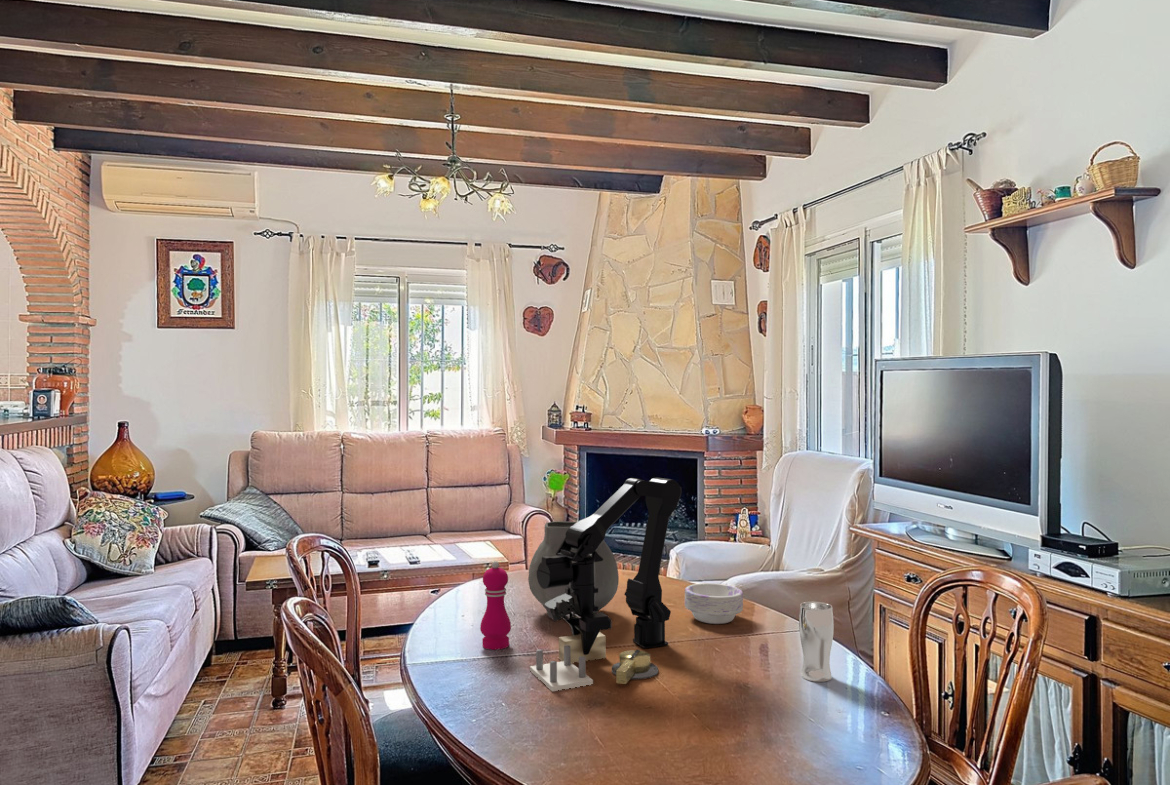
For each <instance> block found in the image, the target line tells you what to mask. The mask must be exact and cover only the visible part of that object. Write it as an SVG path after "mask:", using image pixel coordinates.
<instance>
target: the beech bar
mask: <svg viewBox="0 0 1170 785" xmlns="http://www.w3.org/2000/svg"><path fill="white" fill-rule="evenodd" d="M606 637H607V636H606V635H605V634H603V633H602V632H601V631H600V632H599V633H598V635H597V637H596V639H595V641H594V643H593V645H592V648H591V650H590V652H589V654H587V655H584V654H583V649H582V641H581V634H579V635H573V634H572V635H567V636H566V635H565V636H559V637H558V660H559V659H560V660H561V661H564V646H565V645H569V646H570V649H571V663H572V664H574V663H573V662H577V663H579V657H581V656H583V657H586V662H589V661H588V660H590V661H596V660H603V659H606V658H607V656H606V655H607V654H606V652H607V650H606V645H607V643H606V640H607V639H606ZM602 658H603V659H602ZM595 659H596V660H595ZM560 660H559V661H560ZM561 661H560V662H561Z"/></svg>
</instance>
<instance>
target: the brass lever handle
mask: <svg viewBox="0 0 1170 785" xmlns="http://www.w3.org/2000/svg"><path fill="white" fill-rule="evenodd" d="M618 659H619V662H618V663H619V666H620V667H619V668H618V669H617V671H616V678H615V680H616V684H619V685H620V684H623V685H627V683H628V682H629V681H630V680H631V679H630V678H631V677H632V676H633V675H634V673H635V672H644V671H647V670H649V669H650V663H651V653H649V652H647V651H644V650H641V649H638V648H637V649H636V650H635V649H634V650H633V649H631V650H625V651H622V652H620V653H619V658H618Z"/></svg>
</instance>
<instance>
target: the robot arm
mask: <svg viewBox="0 0 1170 785" xmlns="http://www.w3.org/2000/svg"><path fill="white" fill-rule="evenodd" d="M681 496H682V487H681V486H680V484H679V482H677V481H676V480H675V479H670V478H662V477H653V478H651V479H650V480H644V479H642V478H634V477H630V478H627V479H626V480H625V481H624V483H623V485H622V486H620V487H619V488H618V490H616V491H615V492H614V493H613V494H612V495H611V496H610V497H609V498H608V499H607V500H606V501H605V502H604V503H603V504H602V505H601V506H600V507H599V508H598V509H597V510H596V511H595V512H594V513H592V514H591V515H590V516H588V517H585V518H583V519H580V520H579V521H576V522H577V523H576V524H574V525H573V526H571V527H570V528H569V529H568V530H567V532H566V534H565V535H566V537H565V539H564V541H563V542H562V544H561V546H560V547H559V549H558V551H557V552H556V556H552V557H549V556H545V557H542V562H541V563H540V564H539V566H538V570H537V580H538V583H539V585H540V586H541V587H542V588H543V589H547V588H553V587H559V586H566V585H568V584H569V583H570V586H566V588H565V594H563V595H560V596H558V597H556V598H554V599H552V600H550V601H548V602H546V603H545V604H544V605H545V608H546V609H545V608H544V609H545V610H546V612H547V616H548V618H549V619H552V621H554V622H557V621H560V620H564V621H565V622H566V623H567V624H569V627H570V629H571V630H570V631H571V634H572V635H579V634H581V641H582V649H583V654H584V655H587V654H589V652H590V650H591V648H592V645H593V643H594V641H595V639H596V637H597V635H598V633H599V632H600V633H601V631H605V630H607V631H608V630H611V629H612V628H613V624H612V623H613V622H612V621H613V620H612V618H611V617H610V616H609V615H607V614H606V613H603V612H602V611H598V606H597V605H595V593H598V588H597V587H595V562H599V561H603V558H602V557H601V556H600V555H599V554H598V553H597V551H596V550H597V548H598V547H599V546H600V544H601V543H602V542H603V540H604V541H605V538H606V534H607V532H608V530H609V528H611V526H612V525H614V523H616V522H617V521H618V520H619V518H621V517H622V516H623V515H624V513H626V512H627V511H628V509H630V507H632V505H634V504H635V503H636V502H637V501H638V500H639V499H640V498H641V497H645V504H646V508H647V512H648V516H647V517H648V518H647V522H646V528H645V532H644V539H643V543H642V548H641V555H640V560H639V565H638V569H637V570H638V571H637V573H636V574H635V576H634V578H633V579H632V578H628V579H627V581H626V589H625V592H624V594H623V595H624V596H625V604H627V606H628V608H629V609H630V611H631V614H632V616H636V617H635V623H634V624H633V639H632V642H633V643H635V644H636V645H639V646H640V647H641V648H643V649H651V648H657V647H658V648H659V647H663V646H668V645H669V642H668V641H666V621H669V620H670V617H671V610H670V609H669V608H668V607H667V606H666V604H664V602H663V589H662V586H661V582H660V578H659V575H660V569H661V564H662V559H663V553H664V547H665V543H666V536H667V530H668V525H669V522H670V520H669V519H670V516H672V514H673V513H674V511H675V510H676V509H677V508H678V506H679V505H678V504H679V503H680V498H681ZM570 550H574V551H577V552H576V553H574V552H571V551H570ZM594 611H598V612H597V613H593V612H594Z"/></svg>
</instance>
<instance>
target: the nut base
mask: <svg viewBox="0 0 1170 785" xmlns="http://www.w3.org/2000/svg"><path fill="white" fill-rule="evenodd" d="M619 667H620V666H619V662H616V663H614V664H613V665H612V666H611V673H612V674H613V675H614V676H615V675H616V671H617V669H618V668H619ZM658 674H659V667H658V666H657V665H656V664H655V663H653V662H650V669H649V670H647V671H644V672H635V673H634V675H633V676H632V677H631V678H630V680H646V679H645V678H647V679H651V678H653V676H654V677H655V676H657V675H658ZM650 677H651V678H650Z"/></svg>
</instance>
